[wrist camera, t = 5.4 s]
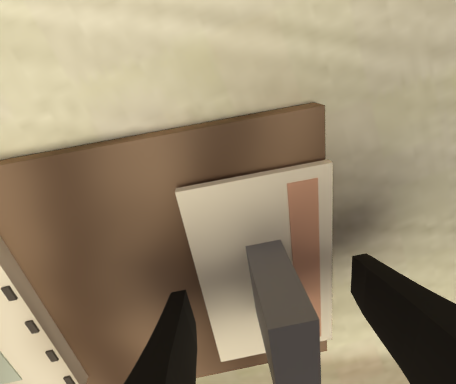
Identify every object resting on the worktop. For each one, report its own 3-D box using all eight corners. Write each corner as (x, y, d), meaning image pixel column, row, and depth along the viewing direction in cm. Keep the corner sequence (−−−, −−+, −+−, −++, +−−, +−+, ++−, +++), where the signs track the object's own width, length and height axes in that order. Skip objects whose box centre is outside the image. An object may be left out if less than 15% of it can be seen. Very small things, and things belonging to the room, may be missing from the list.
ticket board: (314, 102, 11) (334, 108, 9) (319, 335, 17) (332, 364, 15) (-249, 206, 10) (-334, 231, 9) (-37, 409, 16) (-64, 447, 14)
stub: (328, 159, 10) (408, 214, 6) (328, 332, 15) (377, 430, 11) (175, 188, 10) (161, 262, 6) (220, 354, 14) (229, 462, 11)
